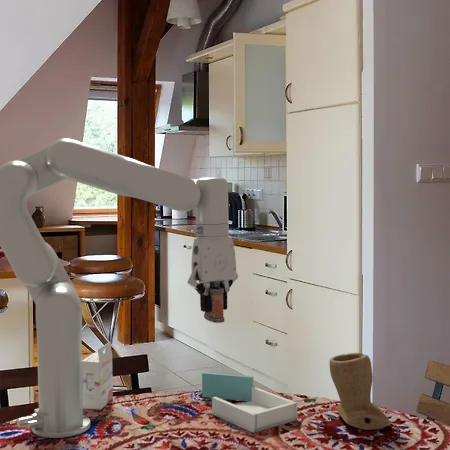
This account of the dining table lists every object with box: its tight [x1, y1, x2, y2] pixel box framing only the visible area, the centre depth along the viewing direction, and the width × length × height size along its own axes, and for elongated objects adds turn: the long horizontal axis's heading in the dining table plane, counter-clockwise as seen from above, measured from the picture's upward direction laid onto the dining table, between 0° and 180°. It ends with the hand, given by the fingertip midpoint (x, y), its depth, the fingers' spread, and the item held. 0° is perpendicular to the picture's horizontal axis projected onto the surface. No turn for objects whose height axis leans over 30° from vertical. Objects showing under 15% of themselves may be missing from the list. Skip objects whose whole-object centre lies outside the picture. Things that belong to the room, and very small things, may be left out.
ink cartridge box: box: [82, 341, 114, 410], centre depth 169 cm, size 9×5×15 cm, turn 168°
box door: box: [201, 371, 254, 402], centre depth 172 cm, size 13×1×6 cm, turn 73°
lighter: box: [203, 280, 225, 324], centre depth 160 cm, size 8×3×10 cm, turn 23°
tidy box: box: [211, 386, 298, 434], centre depth 159 cm, size 13×15×4 cm
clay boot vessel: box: [328, 352, 391, 431], centre depth 157 cm, size 15×12×15 cm
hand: (214, 309), depth 160 cm, fingers closed on lighter, 4 cm apart
